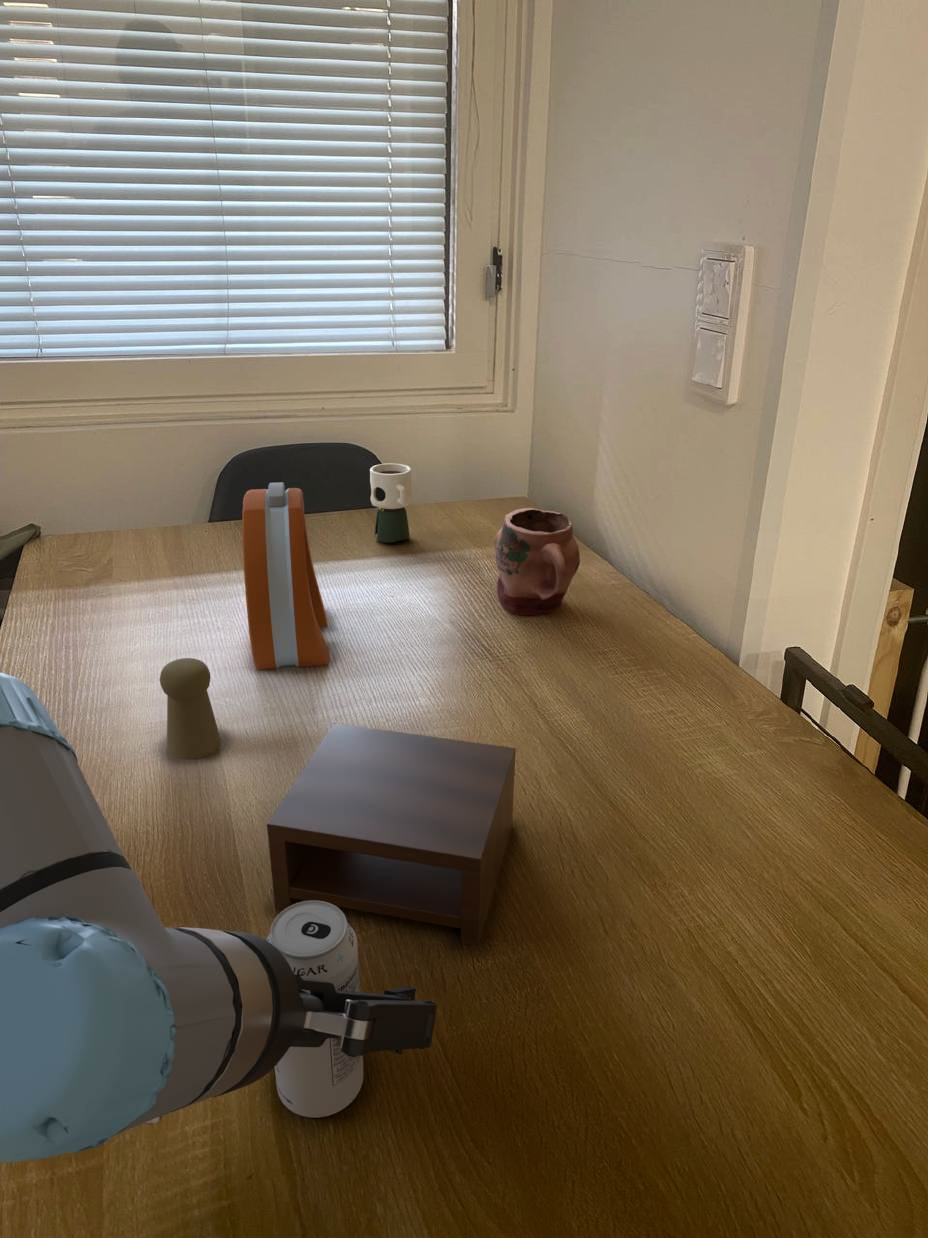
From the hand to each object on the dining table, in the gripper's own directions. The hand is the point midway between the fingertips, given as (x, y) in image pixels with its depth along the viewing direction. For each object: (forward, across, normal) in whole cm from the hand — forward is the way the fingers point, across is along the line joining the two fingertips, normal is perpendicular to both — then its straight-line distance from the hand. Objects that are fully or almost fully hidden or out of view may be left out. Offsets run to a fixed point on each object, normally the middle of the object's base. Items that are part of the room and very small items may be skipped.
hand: (331, 993), depth 64 cm
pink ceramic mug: (+61, +2, +52) cm, 81 cm away
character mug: (+77, -27, +68) cm, 106 cm away
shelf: (+18, -1, +10) cm, 21 cm away
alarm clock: (+47, -28, +38) cm, 67 cm away
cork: (+28, -29, +19) cm, 44 cm away
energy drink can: (+2, 0, -6) cm, 7 cm away
